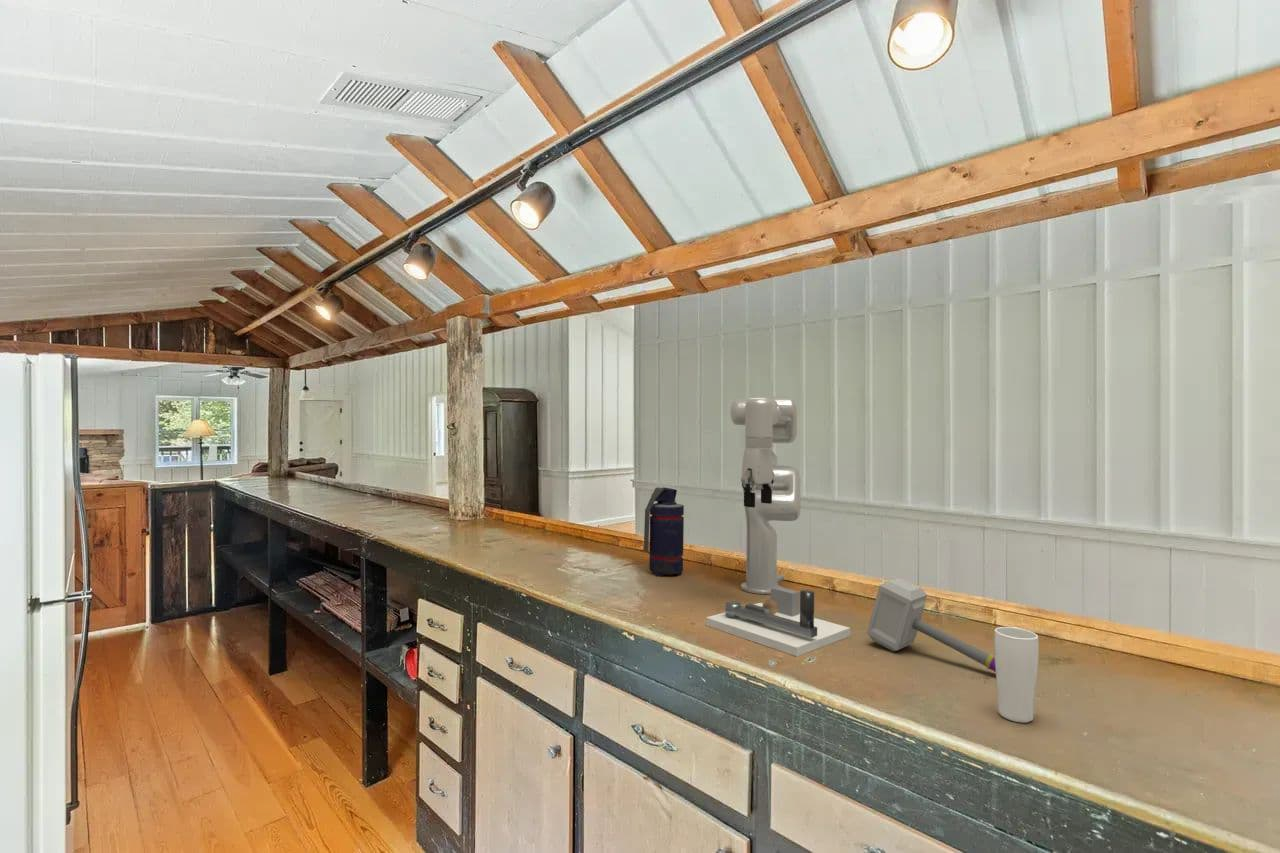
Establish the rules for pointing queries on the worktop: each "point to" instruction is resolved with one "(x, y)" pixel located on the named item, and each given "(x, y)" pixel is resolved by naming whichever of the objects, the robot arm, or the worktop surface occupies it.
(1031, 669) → the drinking glass
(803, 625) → the lever
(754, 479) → the robot arm
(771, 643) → the base
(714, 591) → the worktop surface
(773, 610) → the walnut
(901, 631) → the hammer
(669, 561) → the grenade
